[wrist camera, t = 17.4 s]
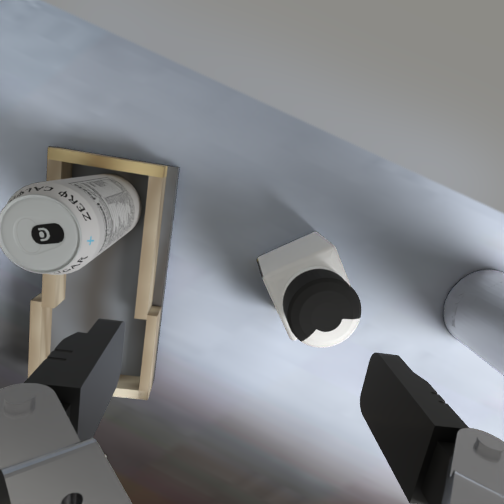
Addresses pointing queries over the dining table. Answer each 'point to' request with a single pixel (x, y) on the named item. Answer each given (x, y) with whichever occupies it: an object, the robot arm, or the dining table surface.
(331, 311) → the medicine bottle
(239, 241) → the dining table surface
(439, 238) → the dining table surface
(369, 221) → the dining table surface
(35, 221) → the energy drink can
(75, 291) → the keyhole guide
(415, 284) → the dining table surface
